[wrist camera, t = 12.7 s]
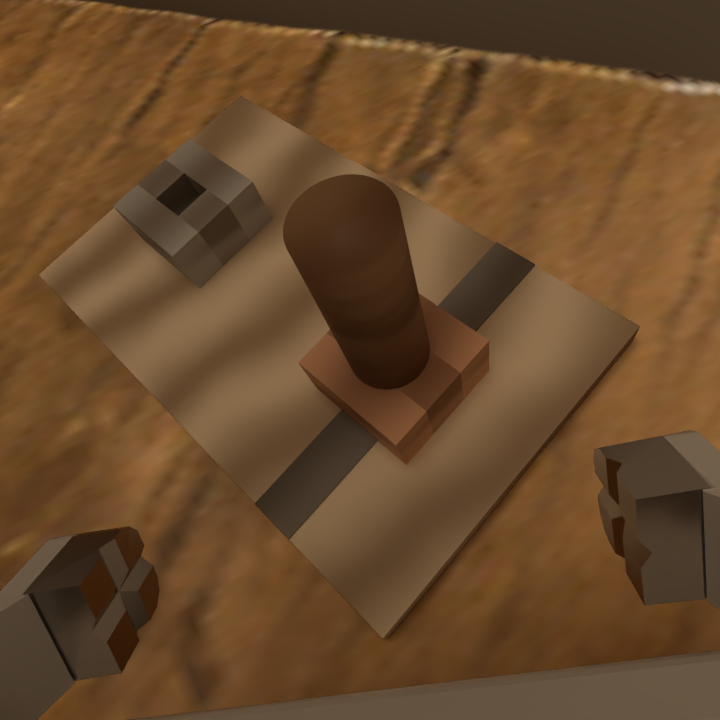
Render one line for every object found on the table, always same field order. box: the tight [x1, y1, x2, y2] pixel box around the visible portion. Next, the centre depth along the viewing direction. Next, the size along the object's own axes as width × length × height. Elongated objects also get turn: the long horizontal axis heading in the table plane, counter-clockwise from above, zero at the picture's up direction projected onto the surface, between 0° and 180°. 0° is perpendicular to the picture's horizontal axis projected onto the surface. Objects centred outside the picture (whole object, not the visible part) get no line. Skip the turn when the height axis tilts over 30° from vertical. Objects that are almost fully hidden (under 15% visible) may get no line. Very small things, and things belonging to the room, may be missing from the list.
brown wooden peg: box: [283, 174, 430, 390], centre depth 22 cm, size 4×4×12 cm
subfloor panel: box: [39, 96, 640, 639], centre depth 30 cm, size 30×18×5 cm, turn 47°
